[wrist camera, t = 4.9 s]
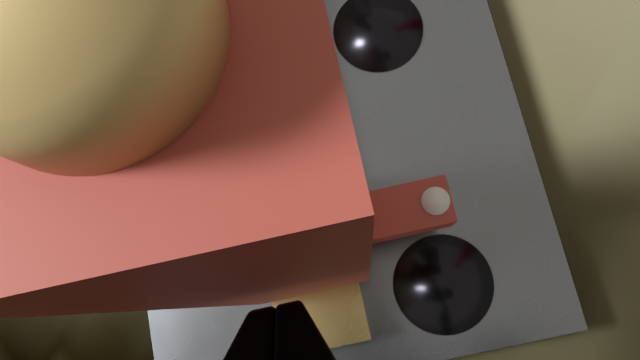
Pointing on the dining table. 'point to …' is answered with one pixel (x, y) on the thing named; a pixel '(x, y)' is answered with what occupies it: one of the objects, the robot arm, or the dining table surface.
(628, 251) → the dining table surface
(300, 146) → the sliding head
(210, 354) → the bolt plate
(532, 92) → the dining table surface
